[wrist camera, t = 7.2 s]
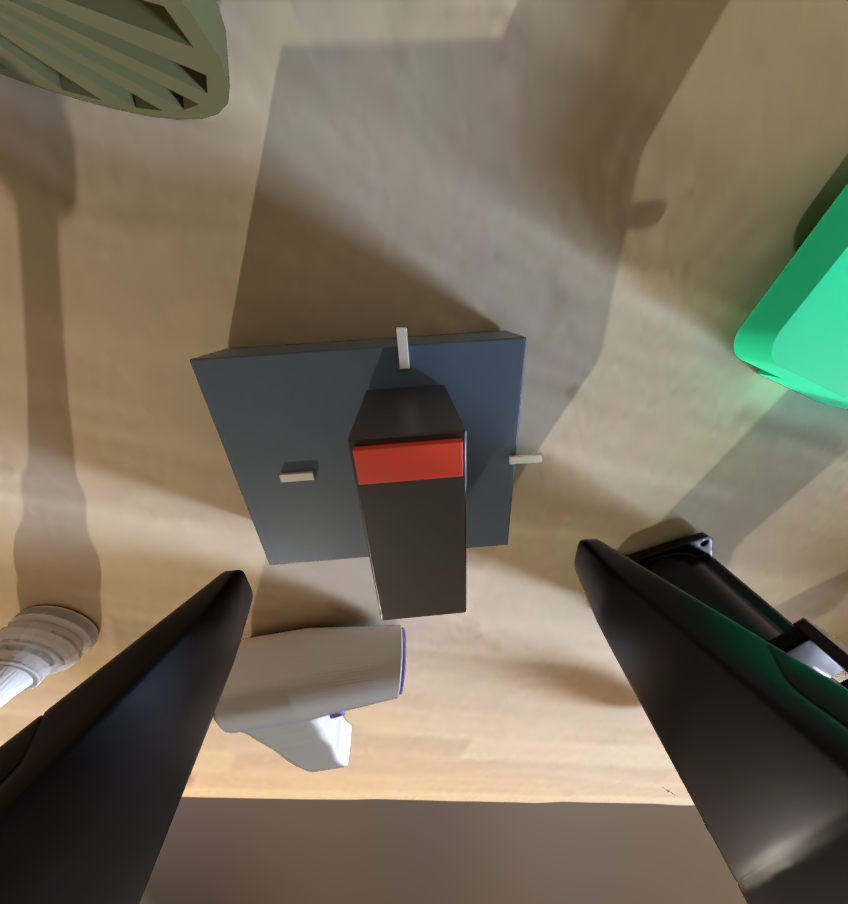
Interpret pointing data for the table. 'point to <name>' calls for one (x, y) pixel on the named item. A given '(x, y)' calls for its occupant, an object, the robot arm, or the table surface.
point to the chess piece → (41, 646)
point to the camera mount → (806, 316)
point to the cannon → (121, 53)
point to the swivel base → (330, 422)
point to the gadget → (413, 498)
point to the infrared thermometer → (311, 688)
